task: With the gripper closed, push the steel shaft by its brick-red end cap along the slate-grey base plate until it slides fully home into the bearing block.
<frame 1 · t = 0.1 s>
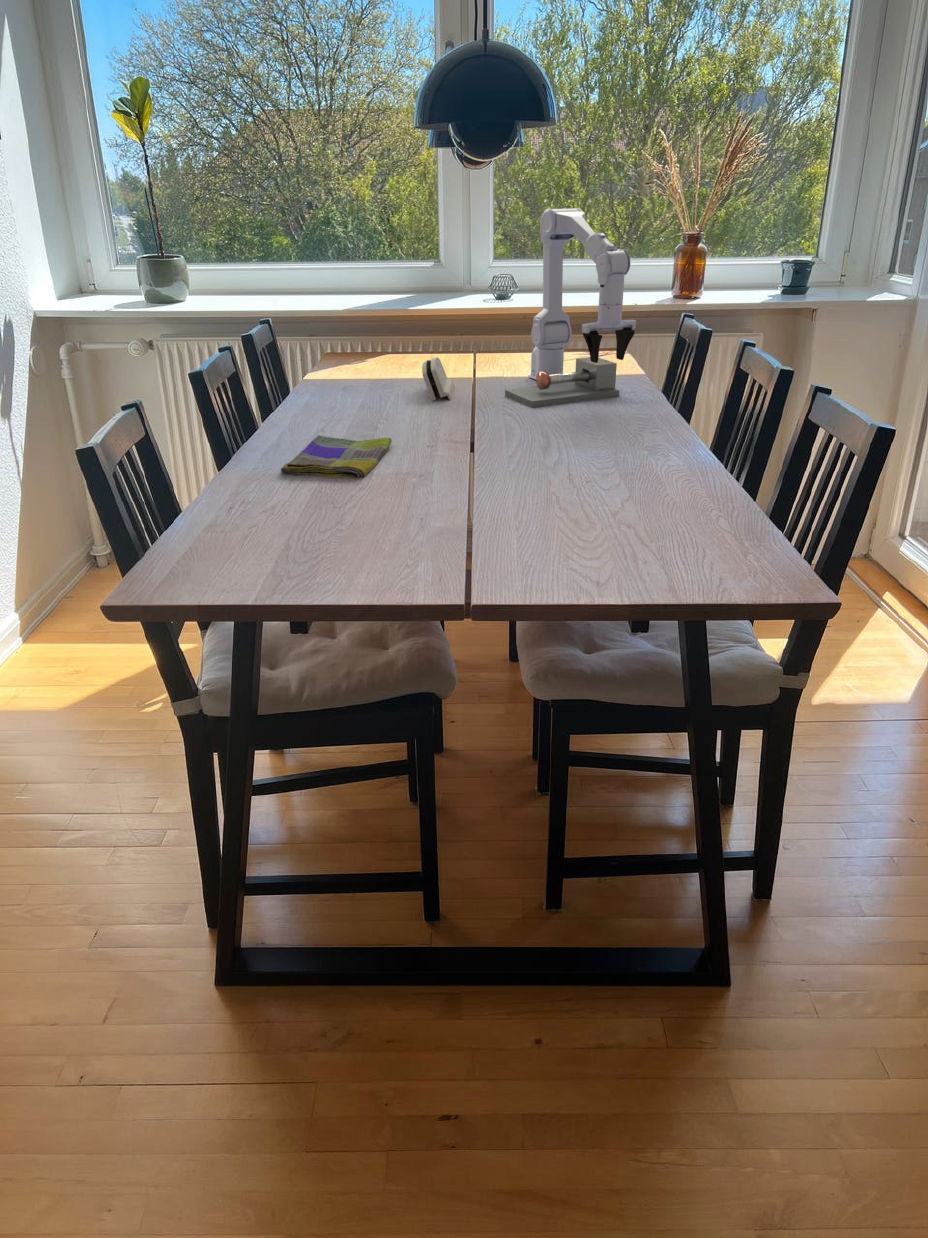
hand: (607, 360, 232), 10 cm above the table, tool pointing down, fingers open, 7 cm apart
dish towel: (339, 462, 193), on the table
shaft: (564, 377, 240), point 4 cm above the table, slide at 8.0 cm
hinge: (438, 394, 246), on the table
base plate: (561, 395, 241), on the table
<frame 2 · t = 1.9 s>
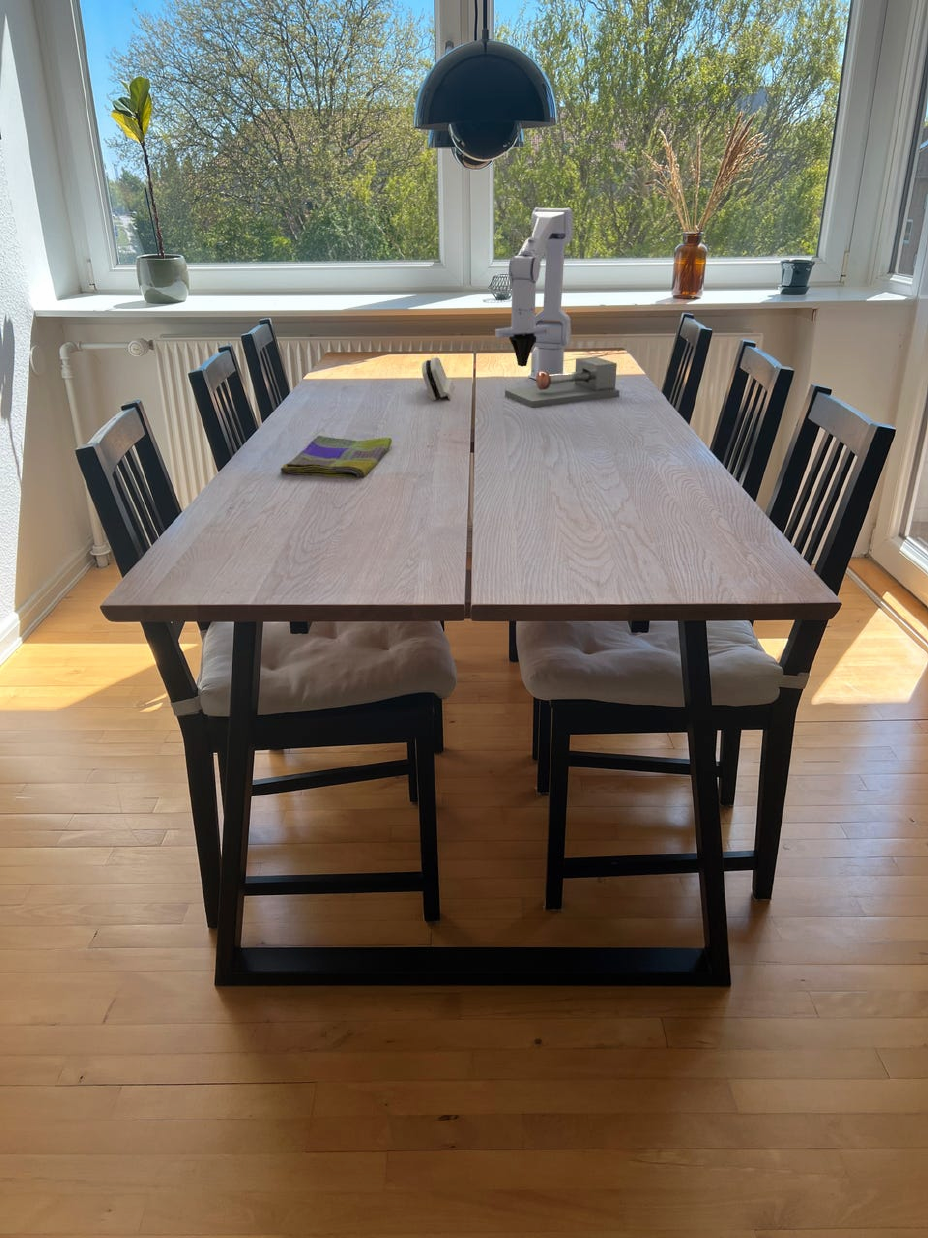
hand: (522, 365, 233), 9 cm above the table, tool pointing down, fingers closed
nothing on the table moved.
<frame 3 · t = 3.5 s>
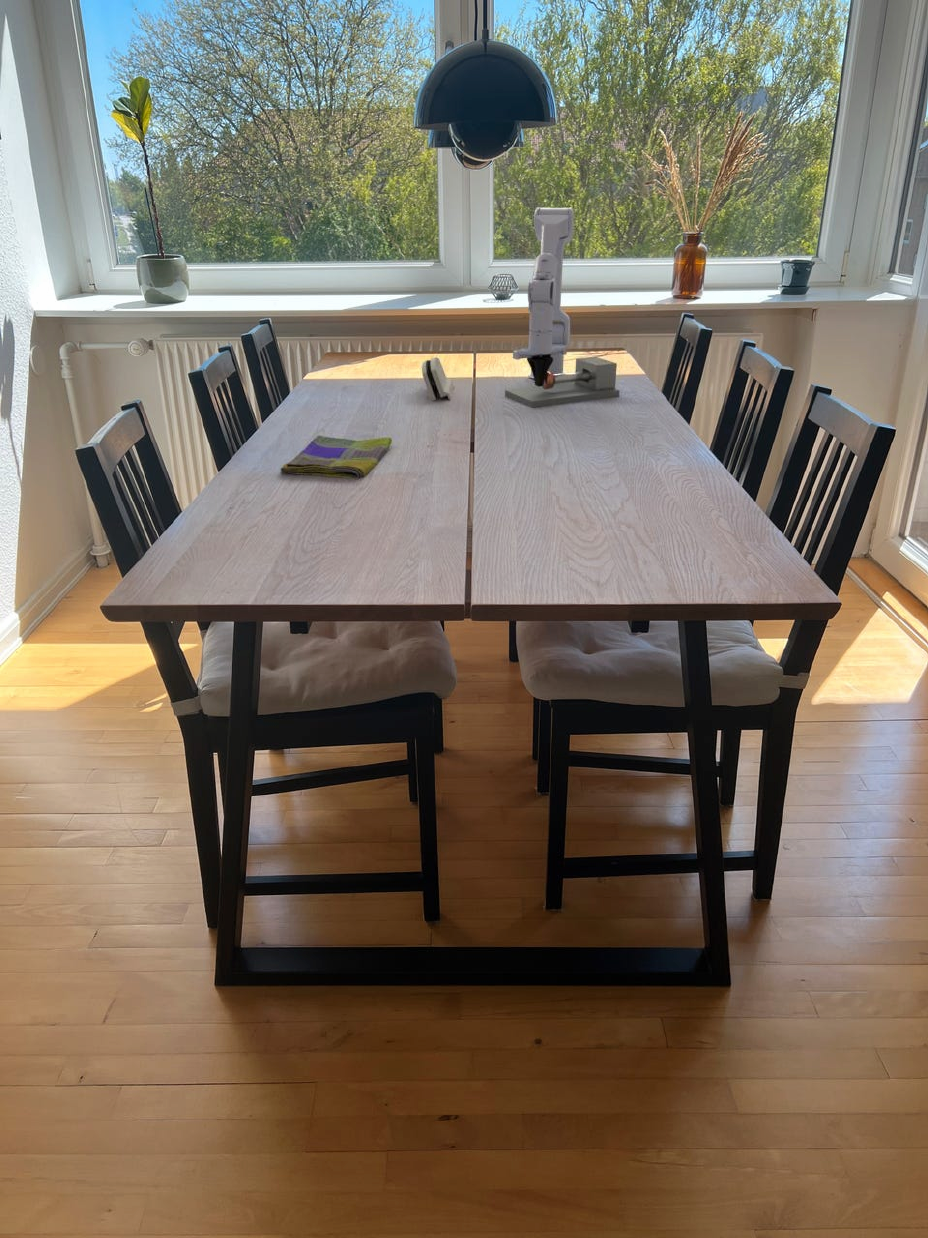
hand: (539, 385, 237), 3 cm above the table, tool pointing down, fingers closed
shaft: (569, 377, 240), point 4 cm above the table, slide at 6.7 cm, touching gripper
everything else where it was.
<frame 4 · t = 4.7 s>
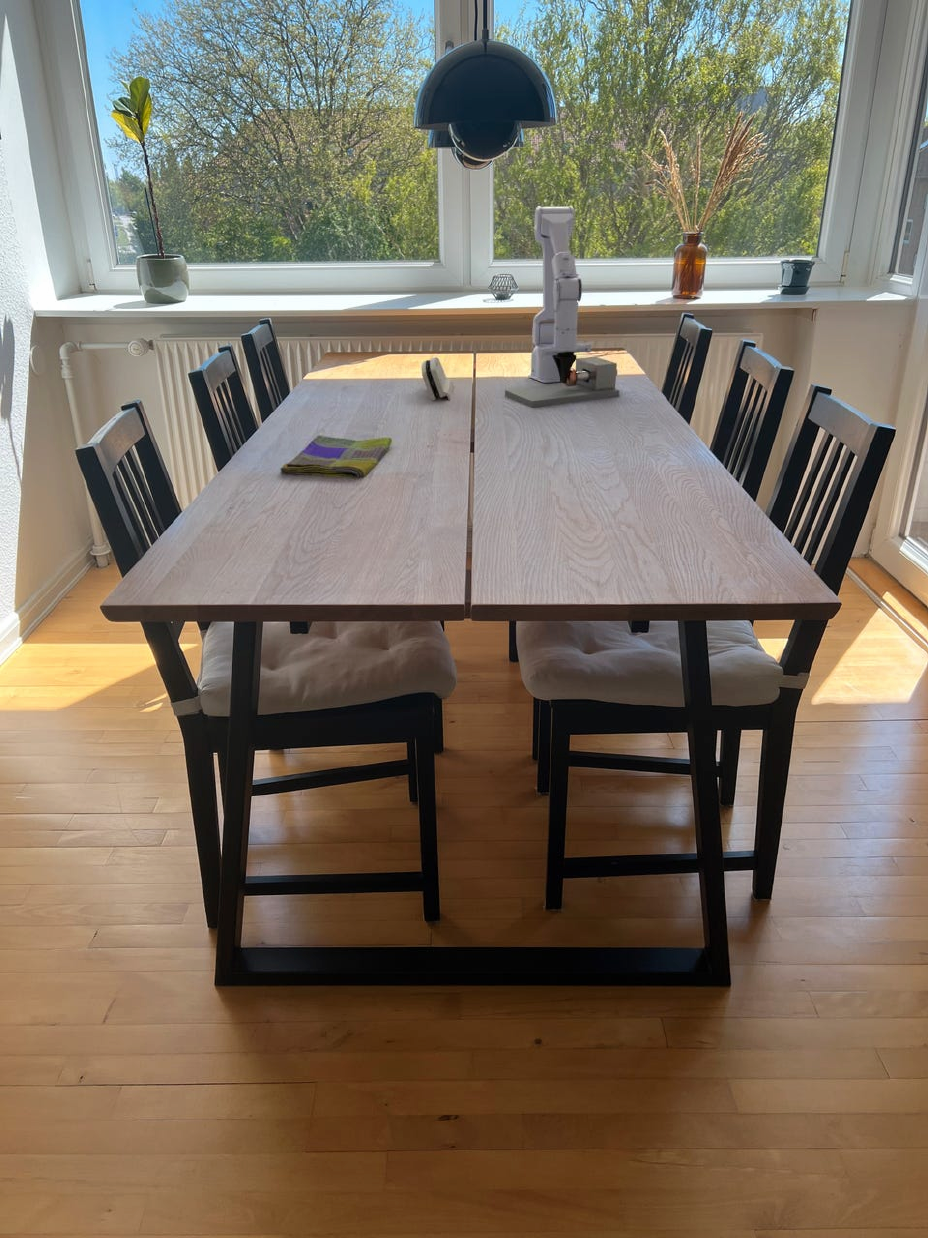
hand: (563, 382, 240), 3 cm above the table, tool pointing down, fingers closed
shaft: (591, 374, 243), point 4 cm above the table, slide at -0.1 cm, touching gripper
everything else where it was.
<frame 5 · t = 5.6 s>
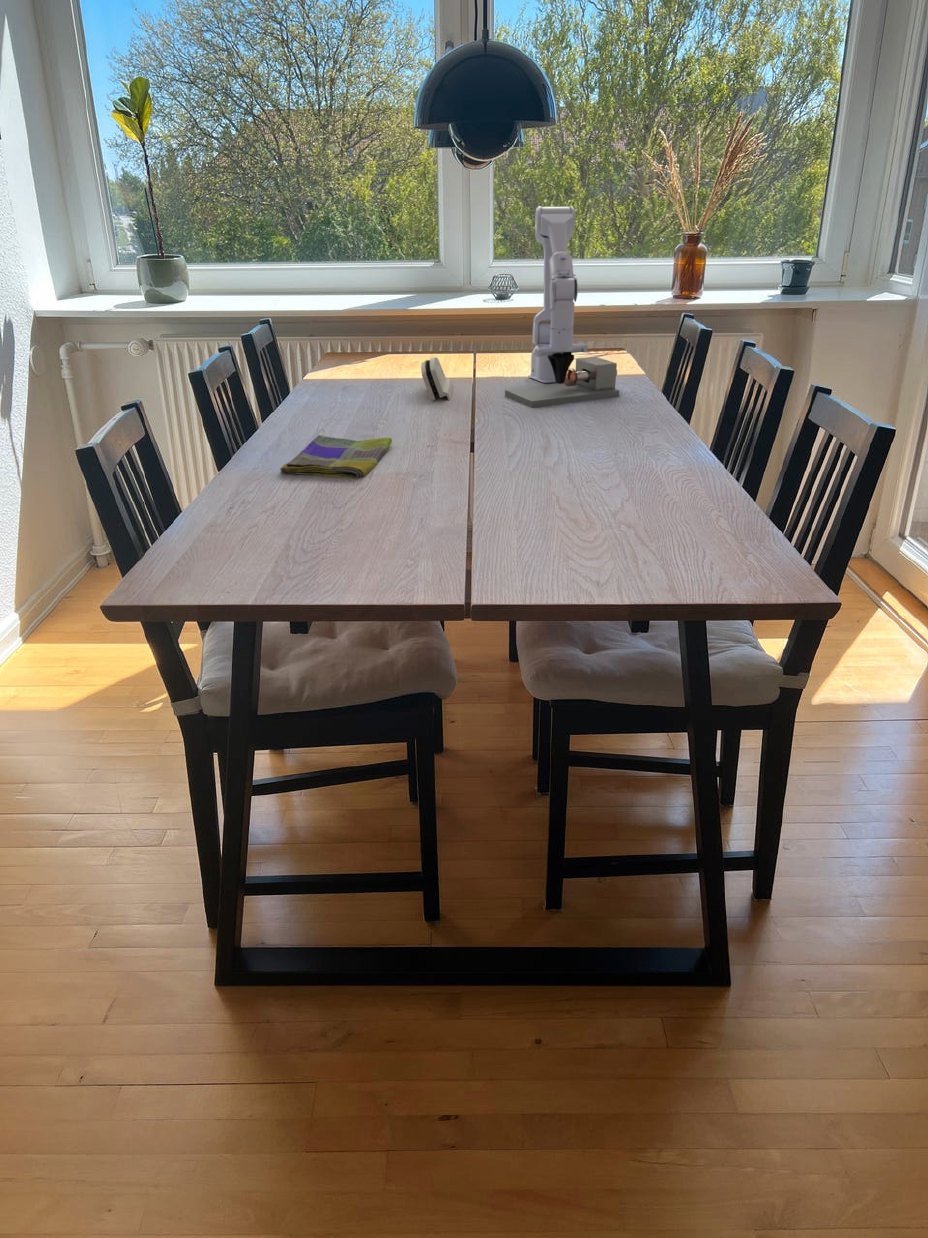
hand: (559, 382, 240), 3 cm above the table, tool pointing down, fingers closed
shaft: (591, 374, 243), point 5 cm above the table, slide at 0.0 cm
everything else where it was.
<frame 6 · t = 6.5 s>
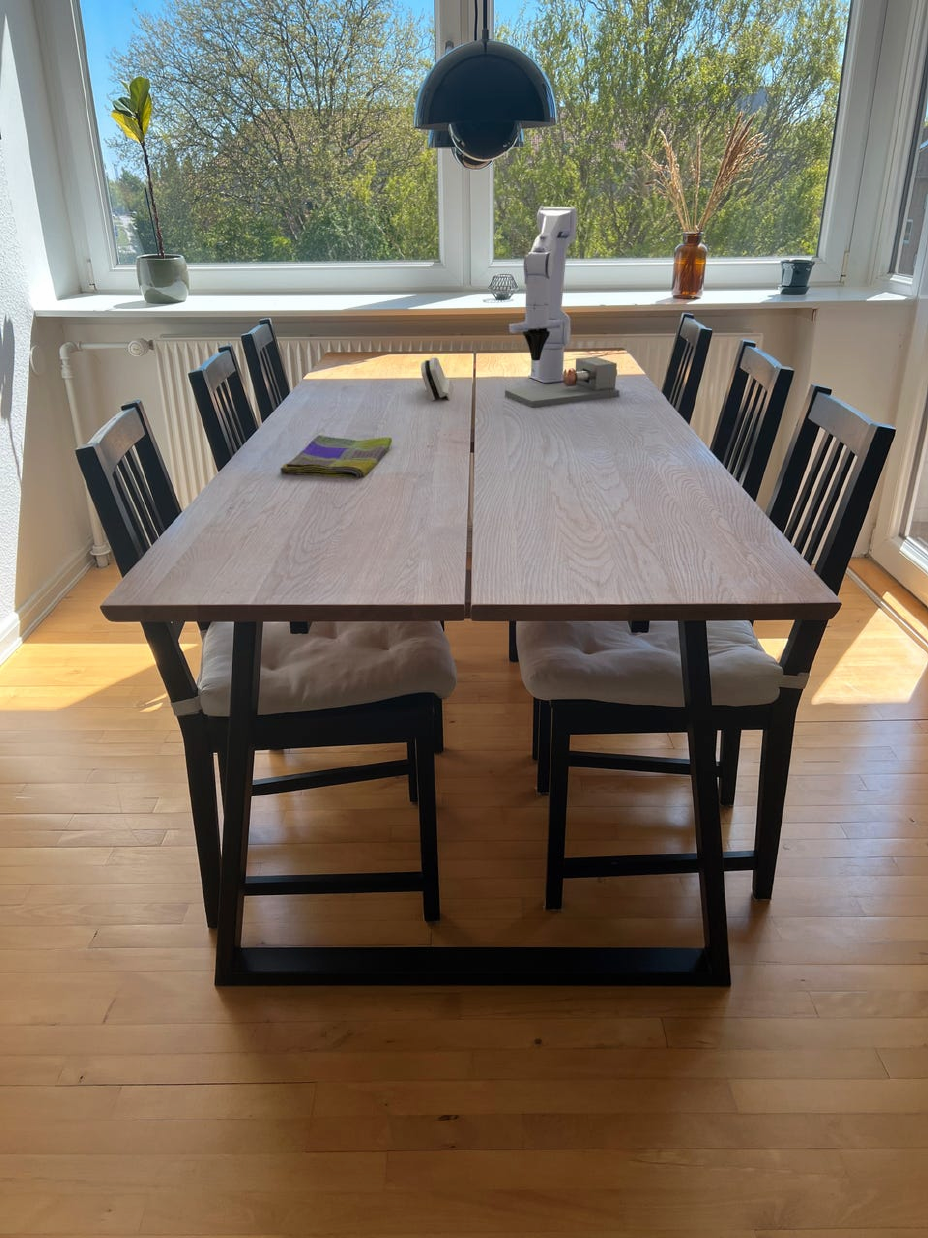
hand: (535, 359, 237), 9 cm above the table, tool pointing down, fingers closed
nothing on the table moved.
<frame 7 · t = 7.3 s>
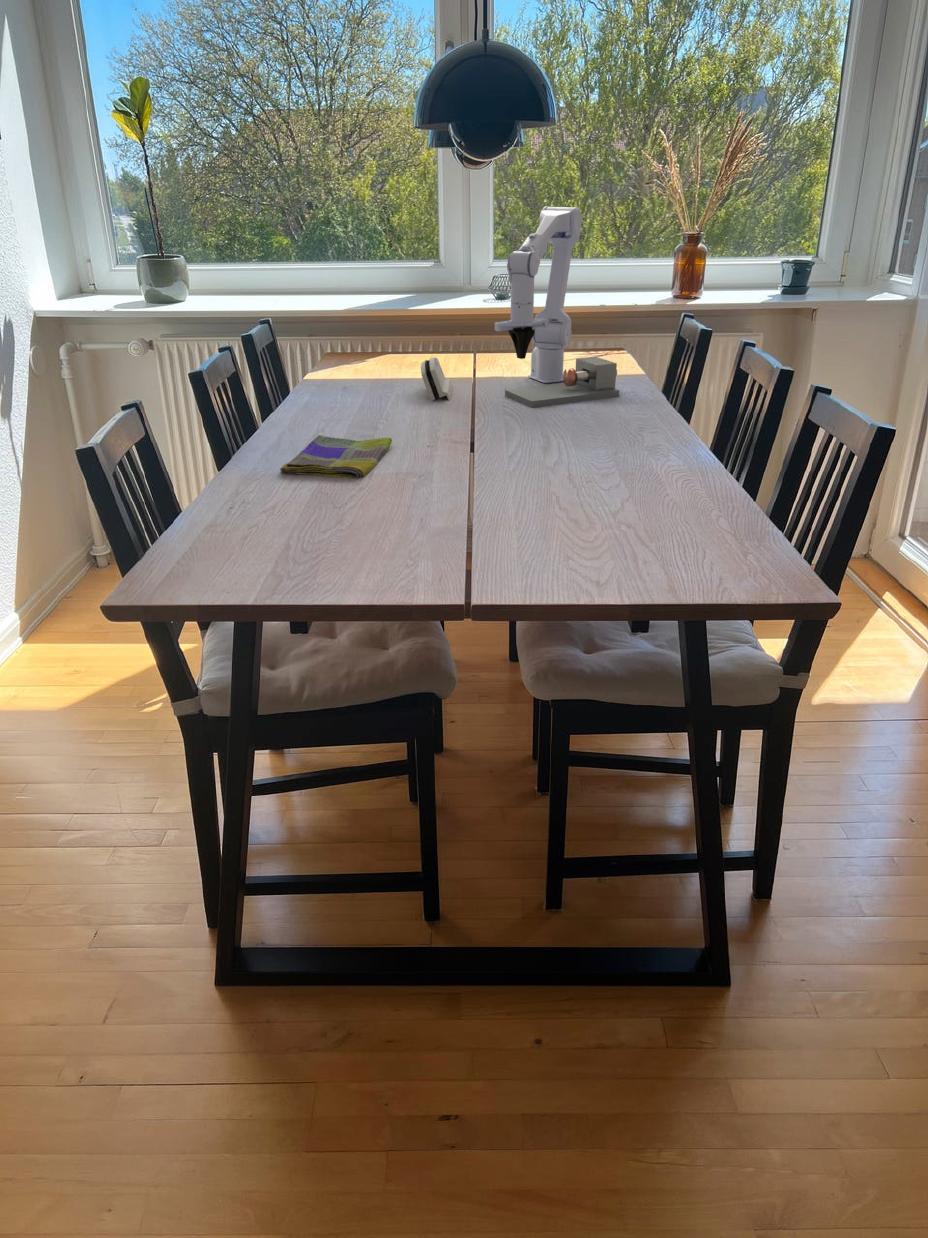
hand: (521, 357, 239), 9 cm above the table, tool pointing down, fingers closed
nothing on the table moved.
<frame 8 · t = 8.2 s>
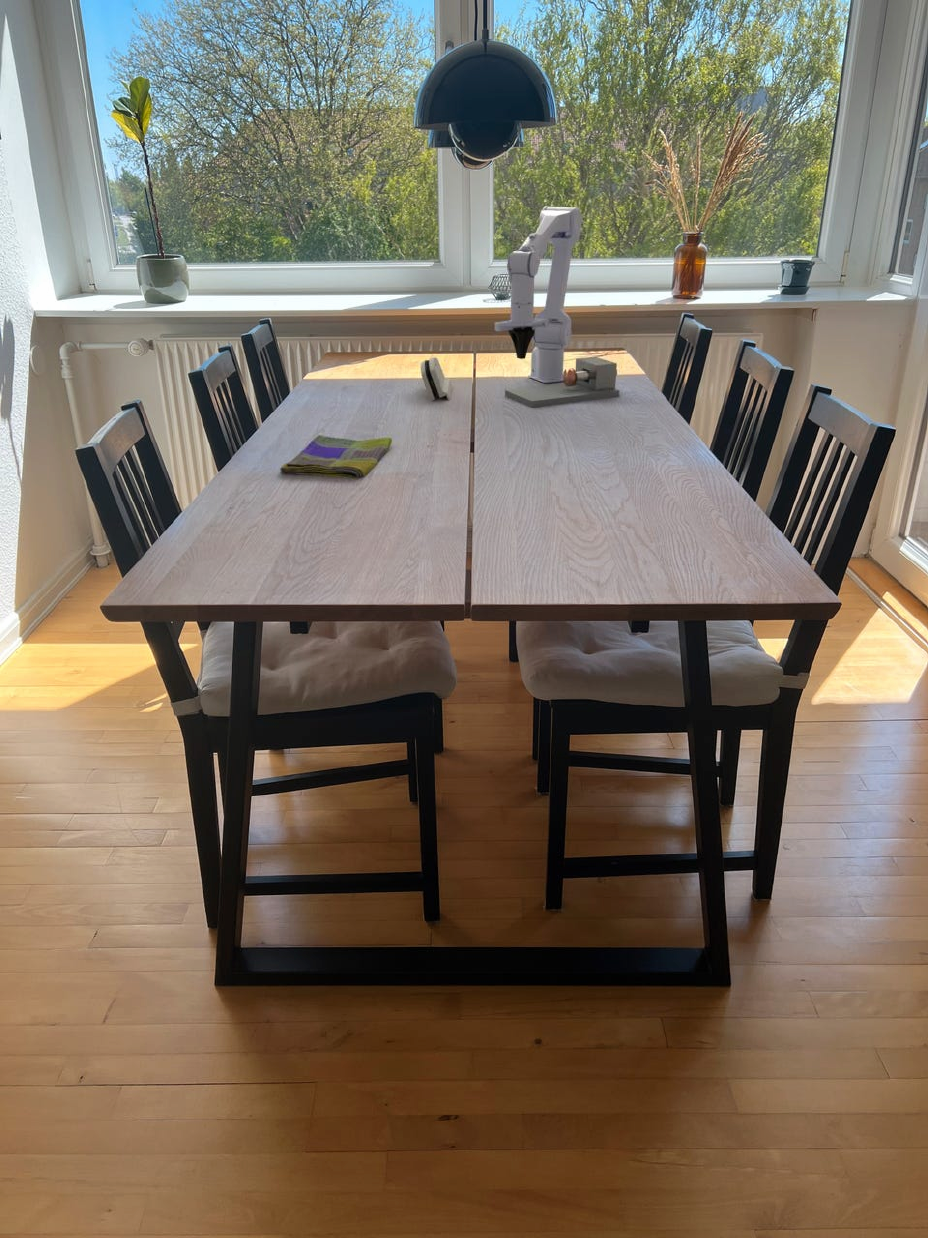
hand: (521, 357, 239), 9 cm above the table, tool pointing down, fingers closed
nothing on the table moved.
at the end: shaft slide at 0.0 cm; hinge moved 0.7 cm from its start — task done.
